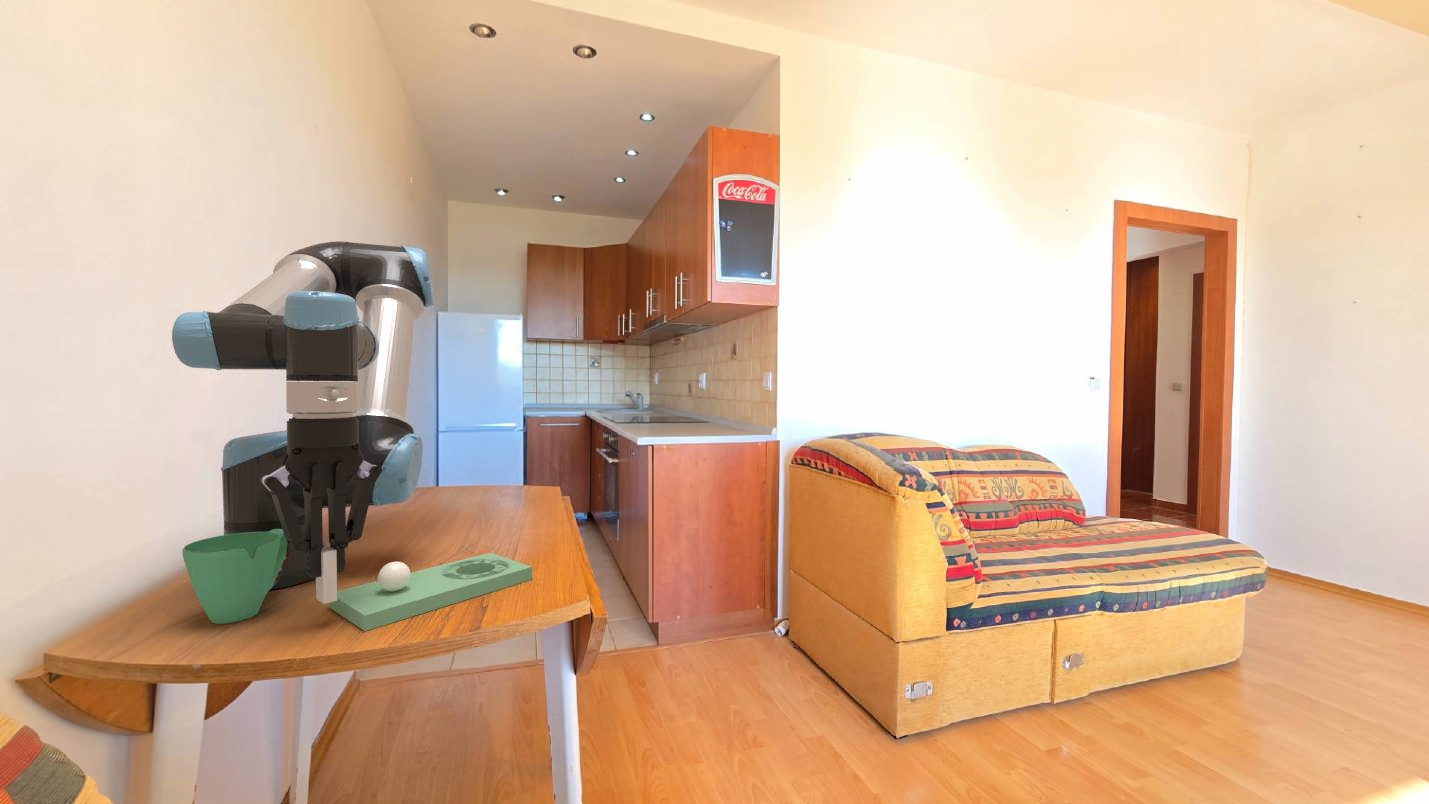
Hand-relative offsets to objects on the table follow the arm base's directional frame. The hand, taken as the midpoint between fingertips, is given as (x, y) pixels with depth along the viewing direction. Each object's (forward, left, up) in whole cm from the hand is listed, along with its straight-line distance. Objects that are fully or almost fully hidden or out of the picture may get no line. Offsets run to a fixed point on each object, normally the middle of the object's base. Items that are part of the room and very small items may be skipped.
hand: (326, 599), depth 72 cm
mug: (-14, -5, -3) cm, 15 cm away
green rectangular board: (0, +14, -3) cm, 15 cm away
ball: (0, +8, +1) cm, 8 cm away
